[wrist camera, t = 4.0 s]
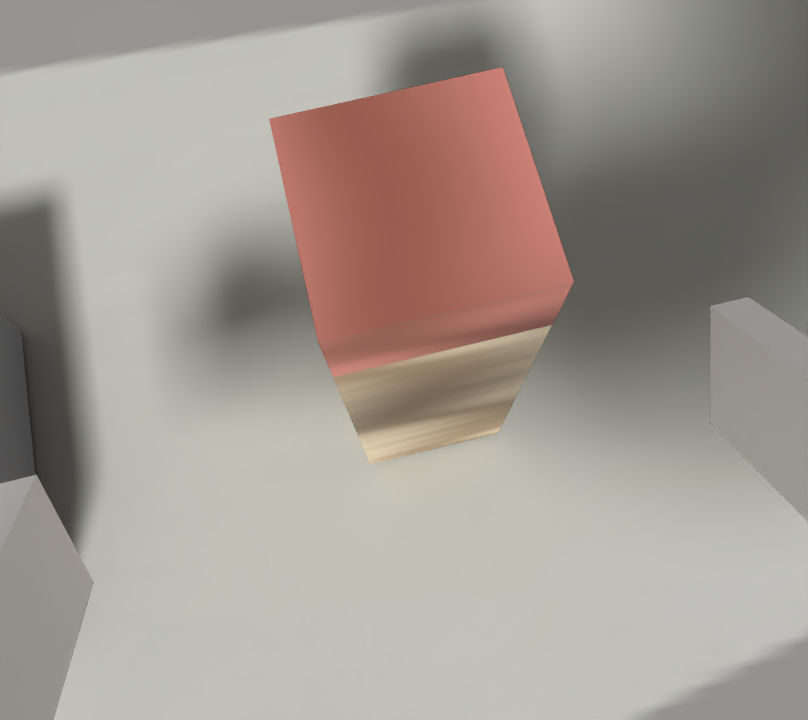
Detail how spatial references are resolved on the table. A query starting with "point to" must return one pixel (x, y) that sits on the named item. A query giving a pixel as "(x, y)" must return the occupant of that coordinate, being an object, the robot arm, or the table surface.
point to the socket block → (14, 407)
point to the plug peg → (423, 256)
